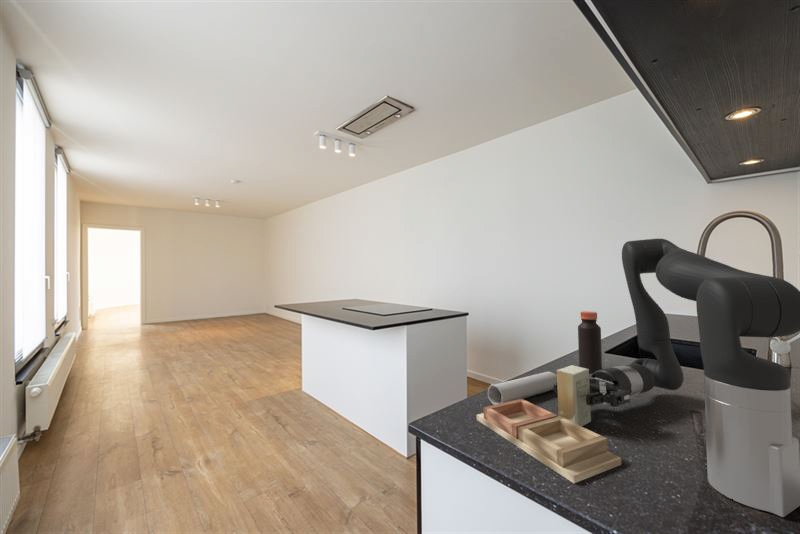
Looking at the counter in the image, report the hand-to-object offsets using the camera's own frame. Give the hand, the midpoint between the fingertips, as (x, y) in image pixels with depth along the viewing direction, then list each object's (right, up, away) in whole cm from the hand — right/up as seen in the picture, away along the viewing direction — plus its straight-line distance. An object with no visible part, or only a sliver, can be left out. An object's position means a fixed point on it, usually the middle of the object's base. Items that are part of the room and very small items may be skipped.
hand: (570, 394), depth 75 cm
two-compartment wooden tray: (-10, -7, -7) cm, 14 cm away
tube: (-2, -6, +15) cm, 16 cm away
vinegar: (+26, -7, +38) cm, 46 cm away
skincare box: (+1, -7, 0) cm, 7 cm away
